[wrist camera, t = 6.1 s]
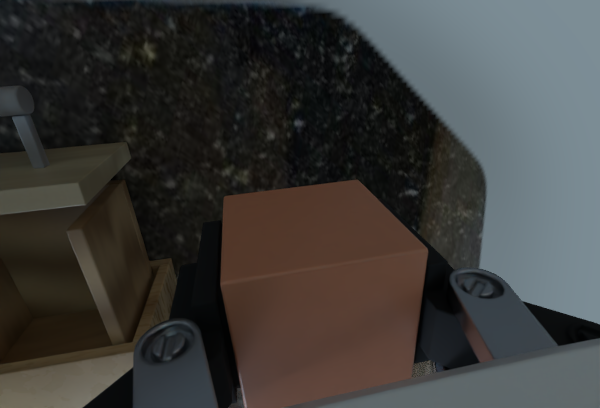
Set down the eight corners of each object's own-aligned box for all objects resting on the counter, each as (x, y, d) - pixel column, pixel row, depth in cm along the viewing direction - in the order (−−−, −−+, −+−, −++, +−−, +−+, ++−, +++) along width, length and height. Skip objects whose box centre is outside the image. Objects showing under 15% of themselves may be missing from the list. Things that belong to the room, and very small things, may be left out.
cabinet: (5, 280, 26) (-108, 393, 17) (171, 257, 28) (142, 350, 19) (70, 400, 32) (11, 526, 24) (202, 375, 34) (191, 485, 25)
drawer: (-101, 89, 19) (-293, 111, 12) (108, 75, 21) (43, 88, 14) (24, 319, 27) (-50, 413, 20) (170, 296, 28) (149, 376, 21)
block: (241, 304, 12) (247, 424, 8) (223, 195, 10) (219, 283, 6) (355, 284, 13) (411, 387, 9) (357, 178, 11) (430, 249, 7)
